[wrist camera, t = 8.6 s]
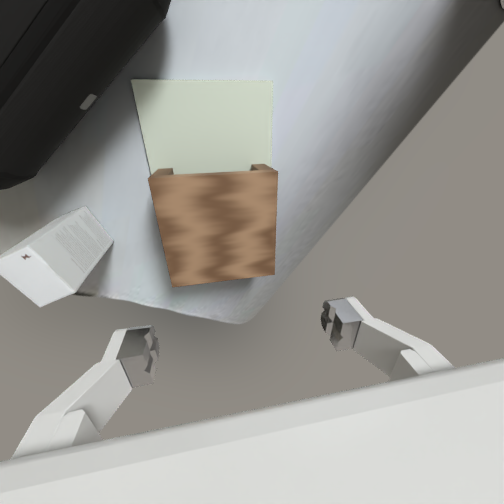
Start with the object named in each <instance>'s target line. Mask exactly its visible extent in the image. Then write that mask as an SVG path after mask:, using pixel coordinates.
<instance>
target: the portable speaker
mask: <svg viewBox="0 0 504 504" xmlns="http://www.w3.org/2000/svg"><path fill="white" fill-rule="evenodd" d="M170 2H171V0H0V190H2V189H7V188H10V187H13V186H15V185H17V184H19V183H22V182H24V181H26V180H28V179H31V178H33V177H34V176H36V174H37V172H38V171H39V170H40V168H41V167H42V166H43V165H44V163H45V162H46V161H47V160H48V159H49V157H50V156H51V155H52V154H53V153H54V151H55V150H56V149H57V148H58V146H59V145H60V144H61V143H62V142H63V140H64V139H65V138H66V137H67V136H68V134H69V133H70V132H71V131H72V129H73V128H74V127H75V126H76V125H77V123H78V122H79V121H80V120H81V118H82V117H83V116H84V115H85V114H86V112H87V111H88V110H89V109H90V108H91V106H92V105H93V104H94V103H95V101H96V100H97V99H98V98H99V97H100V95H101V94H102V93H103V92H104V91H105V89H106V88H107V87H108V86H109V84H110V83H111V82H112V81H113V80H114V78H115V77H116V76H117V75H118V74H119V72H120V71H121V70H122V69H123V67H124V66H125V65H126V64H127V63H128V61H129V60H130V59H131V58H132V57H133V55H134V54H135V53H136V52H137V50H138V49H139V48H140V47H141V46H142V44H143V43H144V42H145V41H146V40H147V38H148V37H149V36H150V35H151V33H152V32H153V31H154V30H155V29H156V27H157V26H158V25H159V24H160V22H161V21H162V20H163V19H165V18H166V15H167V12H168V9H169V5H170Z"/></svg>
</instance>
